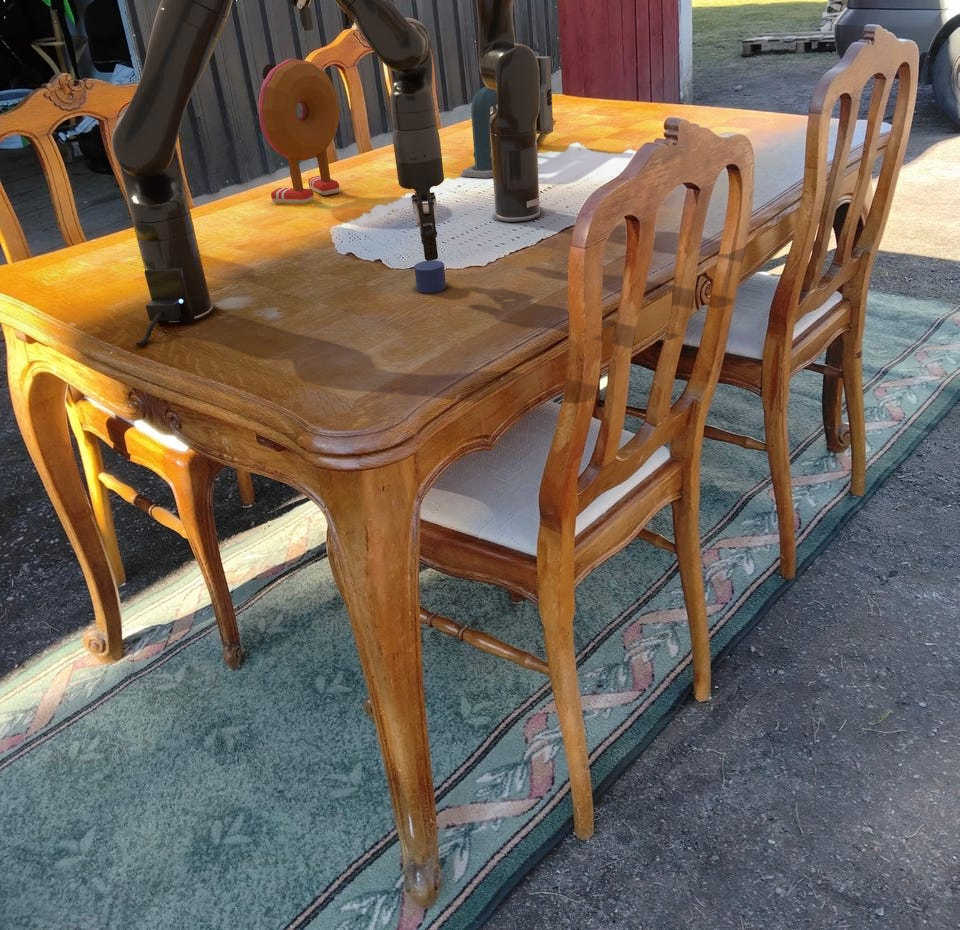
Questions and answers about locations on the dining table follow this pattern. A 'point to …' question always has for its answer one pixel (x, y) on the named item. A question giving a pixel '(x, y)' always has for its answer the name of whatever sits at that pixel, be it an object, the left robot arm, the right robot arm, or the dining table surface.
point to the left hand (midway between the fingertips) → (429, 251)
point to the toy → (299, 124)
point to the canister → (430, 276)
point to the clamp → (482, 112)
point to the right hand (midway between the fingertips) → (328, 29)
